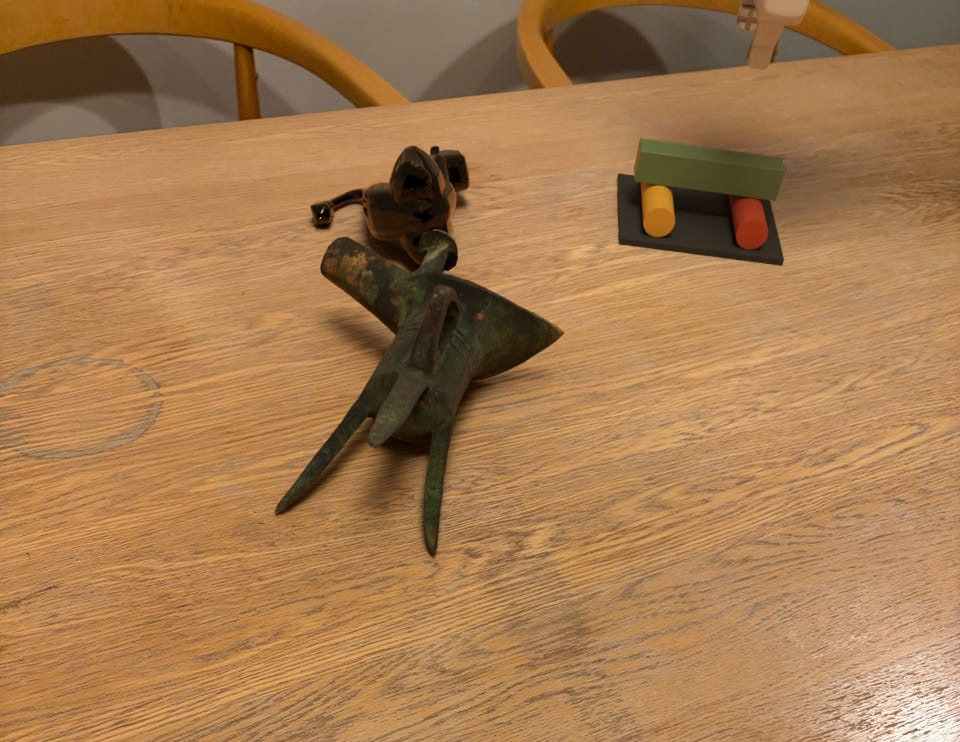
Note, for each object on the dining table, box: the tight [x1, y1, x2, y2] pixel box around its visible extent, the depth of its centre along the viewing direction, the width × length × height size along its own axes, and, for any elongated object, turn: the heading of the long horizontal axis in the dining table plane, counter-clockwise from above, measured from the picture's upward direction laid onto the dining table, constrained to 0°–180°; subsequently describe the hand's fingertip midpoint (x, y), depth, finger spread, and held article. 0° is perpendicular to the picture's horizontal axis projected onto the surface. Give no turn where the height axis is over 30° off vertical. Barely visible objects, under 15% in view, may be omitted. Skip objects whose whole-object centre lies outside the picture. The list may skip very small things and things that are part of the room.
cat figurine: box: [309, 144, 471, 267], centre depth 95 cm, size 10×14×18 cm
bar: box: [633, 137, 786, 202], centre depth 99 cm, size 14×3×3 cm, turn 85°
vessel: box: [273, 229, 565, 557], centre depth 73 cm, size 19×12×25 cm
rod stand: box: [616, 172, 785, 266], centre depth 102 cm, size 16×14×4 cm
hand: (751, 46), depth 91 cm, fingers open, 8 cm apart
